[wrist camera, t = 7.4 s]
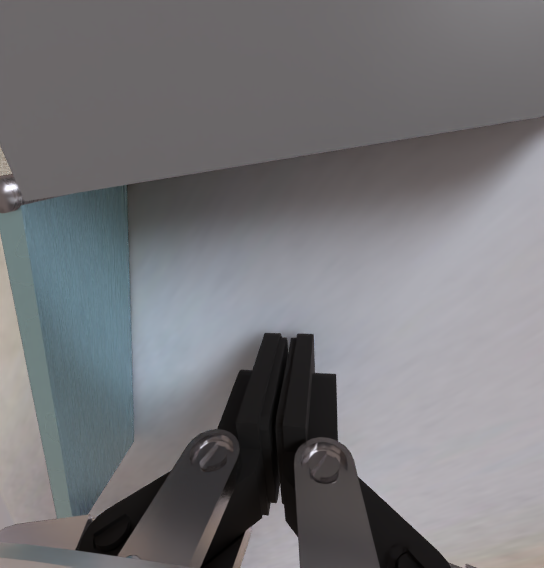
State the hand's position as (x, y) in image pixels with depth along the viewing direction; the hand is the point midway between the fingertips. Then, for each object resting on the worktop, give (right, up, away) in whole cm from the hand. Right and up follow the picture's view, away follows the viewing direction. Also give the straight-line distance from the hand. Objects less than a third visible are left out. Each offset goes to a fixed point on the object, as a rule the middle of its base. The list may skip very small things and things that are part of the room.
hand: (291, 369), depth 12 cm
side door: (-7, +1, +2) cm, 7 cm away
